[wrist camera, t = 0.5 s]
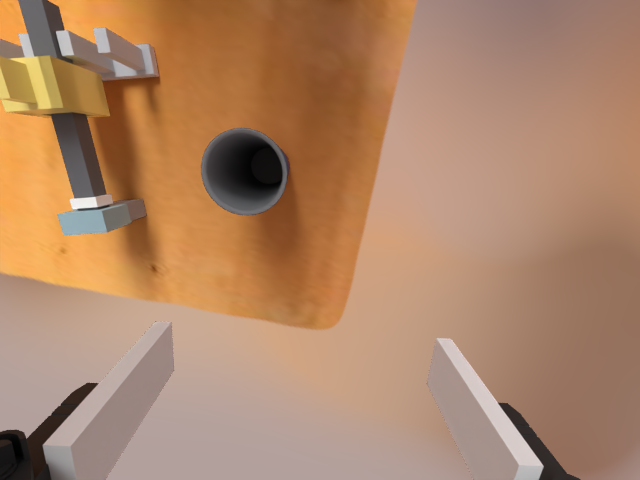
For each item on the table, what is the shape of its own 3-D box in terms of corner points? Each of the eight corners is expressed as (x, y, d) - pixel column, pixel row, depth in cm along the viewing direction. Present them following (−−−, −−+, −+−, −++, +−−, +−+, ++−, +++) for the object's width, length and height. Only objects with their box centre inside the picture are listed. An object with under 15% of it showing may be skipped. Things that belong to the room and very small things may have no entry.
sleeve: (51, 78, 32) (-45, 50, 24) (100, 74, 32) (22, 45, 24) (63, 119, 33) (-25, 107, 25) (110, 116, 33) (39, 103, 25)
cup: (232, 174, 40) (185, 186, 25) (259, 126, 38) (226, 109, 24) (279, 203, 41) (260, 230, 26) (306, 157, 39) (303, 159, 25)
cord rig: (33, 36, 35) (-62, -4, 26) (149, 27, 35) (94, -16, 26) (84, 220, 41) (21, 239, 32) (185, 212, 41) (149, 229, 32)
